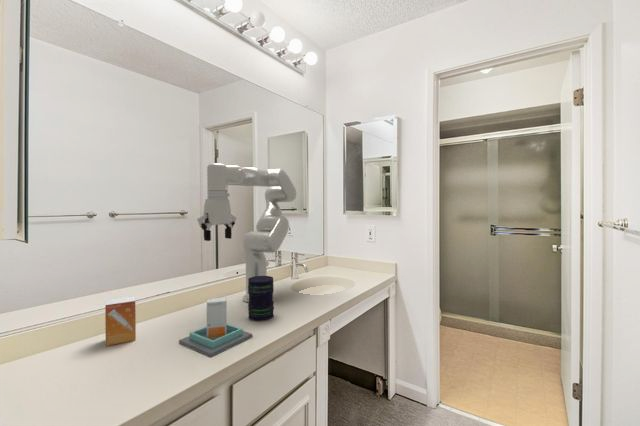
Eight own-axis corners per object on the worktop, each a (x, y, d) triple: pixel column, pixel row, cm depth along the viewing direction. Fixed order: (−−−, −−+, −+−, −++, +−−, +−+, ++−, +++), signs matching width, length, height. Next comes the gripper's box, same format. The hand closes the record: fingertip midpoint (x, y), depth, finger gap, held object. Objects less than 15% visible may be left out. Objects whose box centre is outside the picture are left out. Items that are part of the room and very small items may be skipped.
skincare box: (206, 340, 94) (206, 302, 94) (207, 334, 98) (207, 298, 98) (226, 338, 96) (226, 300, 96) (226, 332, 100) (226, 297, 100)
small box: (105, 347, 92) (104, 305, 92) (106, 339, 98) (105, 299, 97) (136, 340, 97) (135, 300, 96) (135, 333, 102) (134, 295, 102)
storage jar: (253, 323, 111) (253, 283, 110) (244, 315, 119) (244, 277, 119) (278, 317, 116) (277, 279, 116) (267, 310, 124) (267, 274, 124)
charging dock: (221, 326, 108) (221, 318, 108) (252, 336, 99) (252, 327, 99) (179, 343, 95) (178, 333, 94) (210, 357, 86) (210, 346, 86)
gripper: (229, 196, 126) (229, 237, 127) (191, 195, 112) (192, 241, 112) (241, 196, 122) (241, 238, 122) (204, 194, 108) (204, 242, 108)
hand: (218, 239), depth 117 cm, fingers open, 9 cm apart
